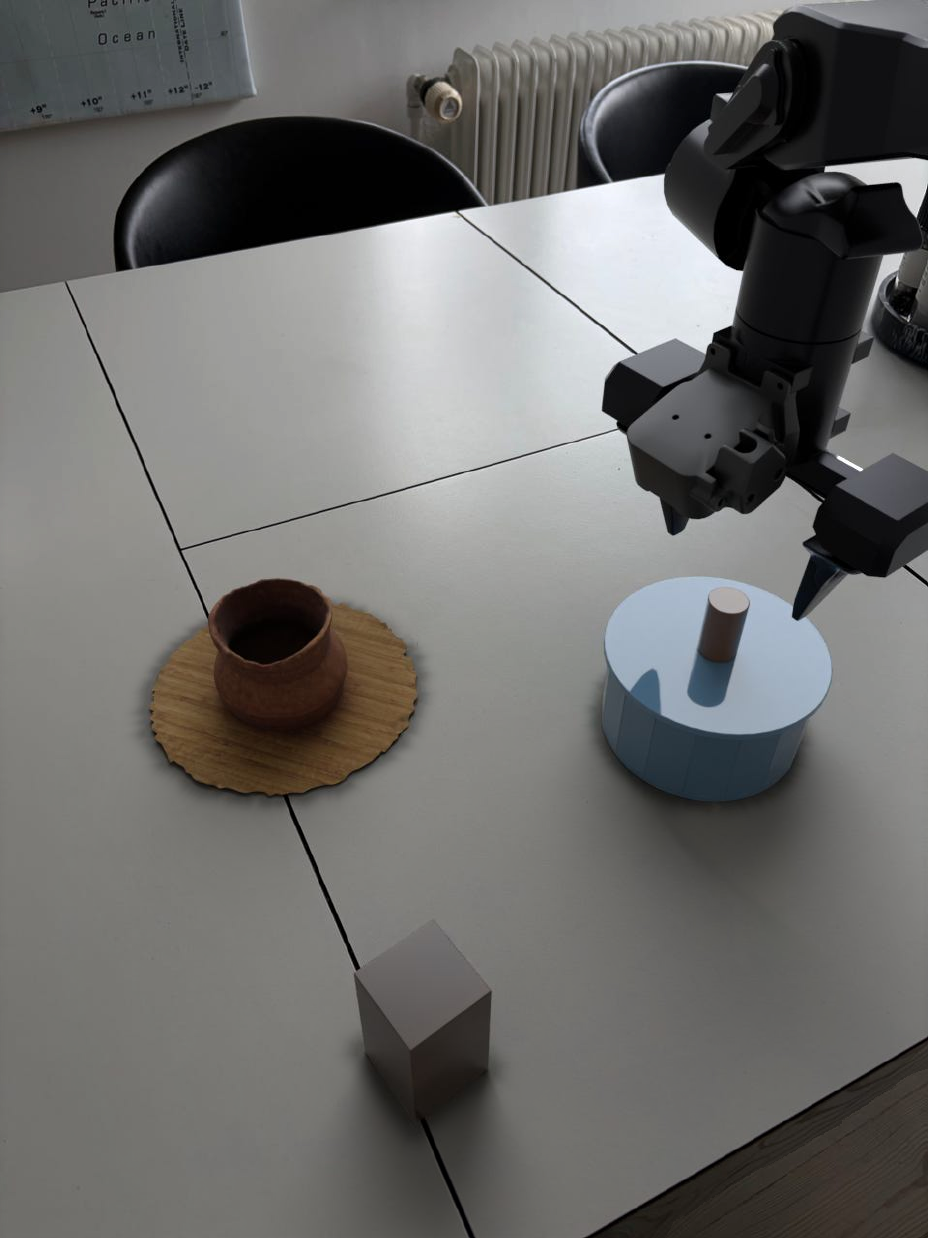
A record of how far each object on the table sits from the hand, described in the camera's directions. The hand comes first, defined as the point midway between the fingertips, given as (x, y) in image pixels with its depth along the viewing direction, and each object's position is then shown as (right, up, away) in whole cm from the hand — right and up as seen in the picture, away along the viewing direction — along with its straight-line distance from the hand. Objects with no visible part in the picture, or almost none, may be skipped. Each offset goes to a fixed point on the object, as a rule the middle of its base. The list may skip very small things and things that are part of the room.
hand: (735, 572), depth 57 cm
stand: (-17, -24, -7) cm, 31 cm away
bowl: (0, -10, +9) cm, 13 cm away
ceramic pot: (-27, -8, +11) cm, 31 cm away
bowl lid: (0, -5, +4) cm, 7 cm away
